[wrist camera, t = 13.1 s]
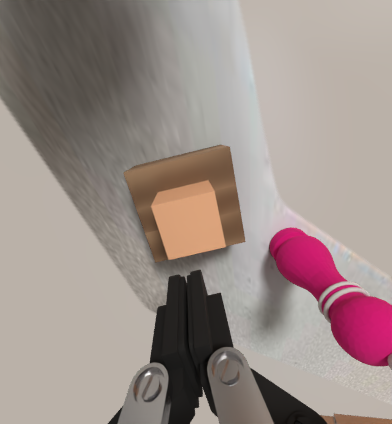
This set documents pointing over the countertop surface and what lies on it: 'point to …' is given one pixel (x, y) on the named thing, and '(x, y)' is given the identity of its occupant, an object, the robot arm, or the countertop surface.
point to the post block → (181, 176)
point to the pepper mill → (336, 297)
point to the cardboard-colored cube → (188, 220)
